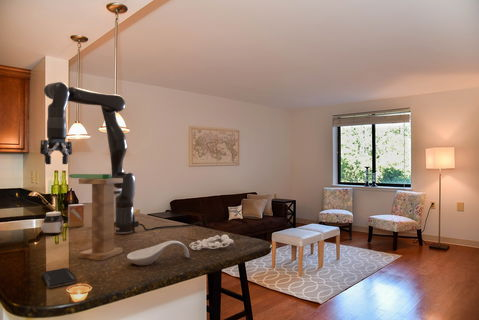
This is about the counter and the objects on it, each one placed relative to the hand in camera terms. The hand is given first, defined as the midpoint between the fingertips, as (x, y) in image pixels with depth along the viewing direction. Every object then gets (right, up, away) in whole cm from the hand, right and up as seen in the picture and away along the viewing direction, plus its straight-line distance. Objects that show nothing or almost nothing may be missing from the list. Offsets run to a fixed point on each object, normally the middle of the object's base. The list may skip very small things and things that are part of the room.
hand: (56, 164), depth 143 cm
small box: (-19, -39, +54) cm, 69 cm away
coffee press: (+2, -39, +61) cm, 72 cm away
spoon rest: (+50, -38, -17) cm, 65 cm away
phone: (+21, -38, -36) cm, 57 cm away
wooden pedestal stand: (+23, -38, -8) cm, 45 cm away
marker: (+18, -6, -6) cm, 20 cm away
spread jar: (-22, -39, +32) cm, 55 cm away
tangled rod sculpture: (+69, -38, +3) cm, 79 cm away
